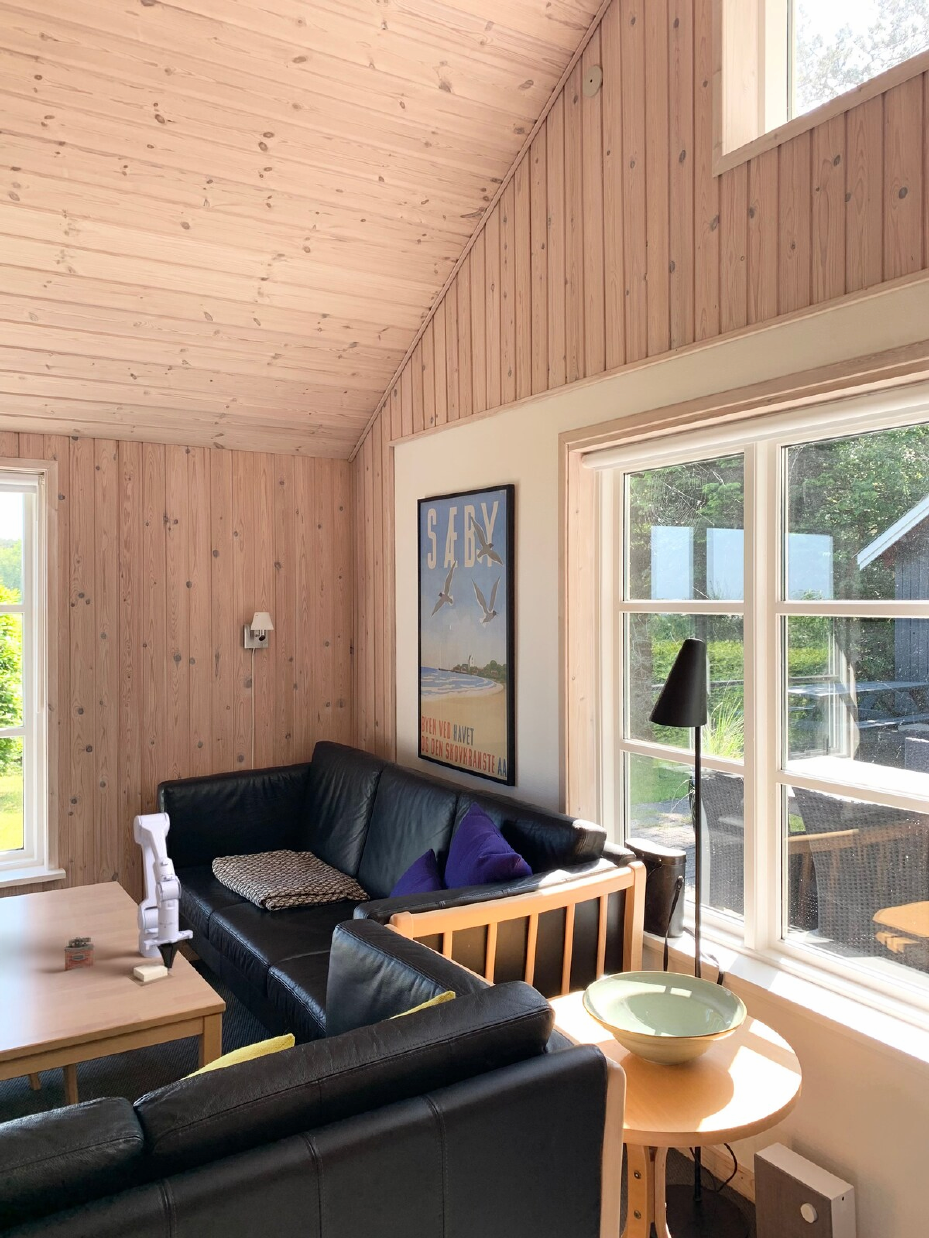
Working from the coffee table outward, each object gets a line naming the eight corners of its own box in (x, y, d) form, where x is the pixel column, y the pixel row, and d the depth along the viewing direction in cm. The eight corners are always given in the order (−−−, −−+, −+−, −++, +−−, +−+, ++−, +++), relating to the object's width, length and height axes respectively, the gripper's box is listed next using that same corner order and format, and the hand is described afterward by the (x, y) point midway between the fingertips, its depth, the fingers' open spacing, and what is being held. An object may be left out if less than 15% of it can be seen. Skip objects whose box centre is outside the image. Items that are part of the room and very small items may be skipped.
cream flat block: (133, 974, 269) (133, 967, 269) (156, 968, 274) (156, 961, 274) (144, 981, 264) (144, 974, 264) (167, 975, 269) (167, 968, 269)
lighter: (63, 974, 273) (63, 940, 273) (65, 970, 276) (65, 937, 276) (92, 971, 275) (92, 938, 275) (94, 967, 278) (94, 934, 278)
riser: (123, 979, 270) (123, 974, 270) (156, 970, 277) (156, 965, 277) (141, 991, 261) (141, 986, 261) (174, 981, 268) (174, 976, 268)
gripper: (150, 930, 265) (150, 978, 265) (197, 919, 275) (197, 964, 275) (139, 924, 270) (140, 971, 270) (186, 913, 280) (186, 958, 280)
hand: (168, 967), depth 273 cm, fingers closed
